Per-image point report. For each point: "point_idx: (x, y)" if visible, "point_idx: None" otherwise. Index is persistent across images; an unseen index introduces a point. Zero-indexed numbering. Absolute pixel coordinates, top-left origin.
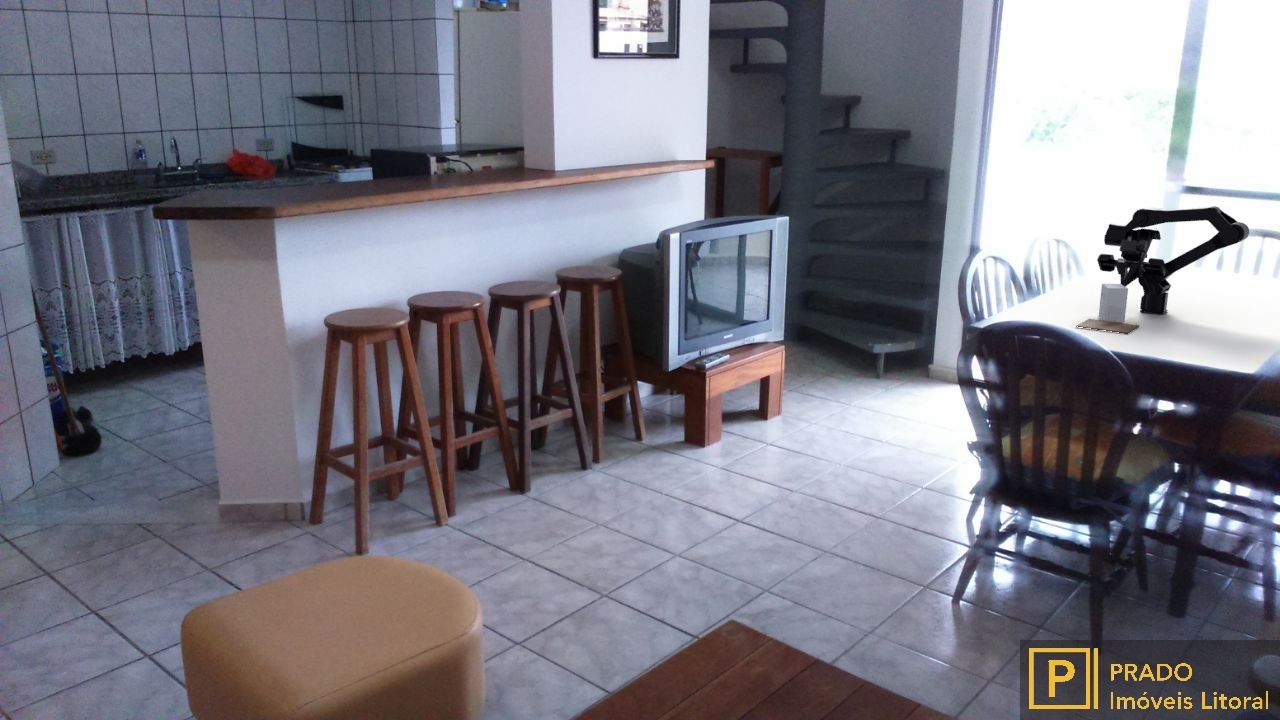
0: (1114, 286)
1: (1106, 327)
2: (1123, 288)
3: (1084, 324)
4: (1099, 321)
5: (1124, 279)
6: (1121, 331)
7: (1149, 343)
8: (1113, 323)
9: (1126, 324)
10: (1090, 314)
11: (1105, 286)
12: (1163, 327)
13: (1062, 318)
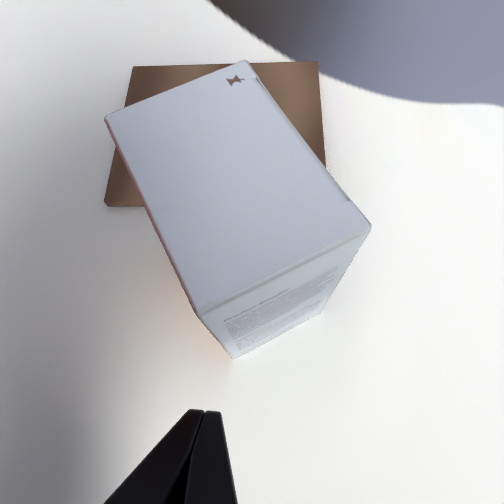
0: (220, 134)
1: None
2: (138, 102)
3: (300, 91)
4: None
5: (175, 476)
6: (154, 67)
7: (64, 16)
8: None
9: None
10: (383, 362)
11: (295, 129)
12: (6, 262)
13: (438, 181)
